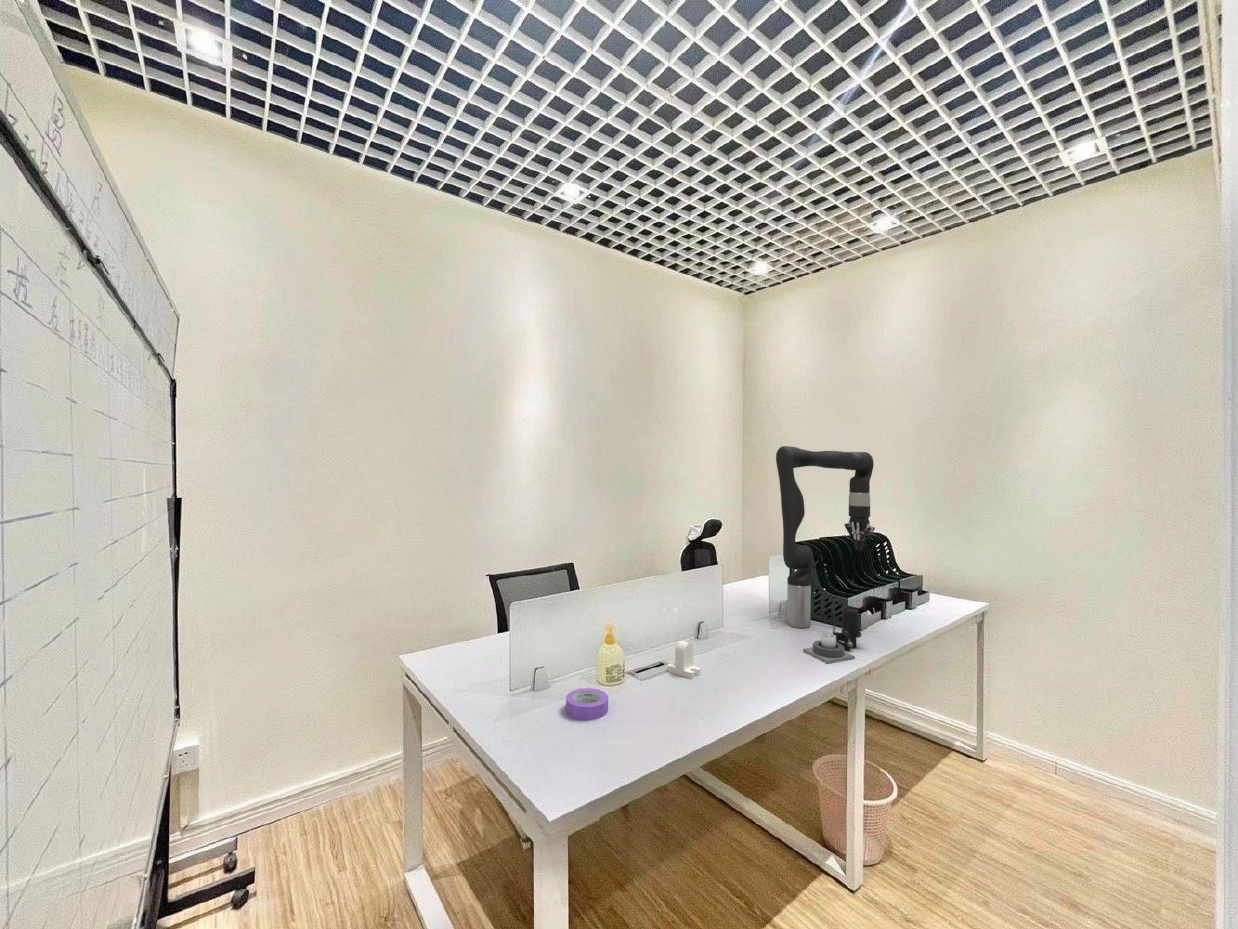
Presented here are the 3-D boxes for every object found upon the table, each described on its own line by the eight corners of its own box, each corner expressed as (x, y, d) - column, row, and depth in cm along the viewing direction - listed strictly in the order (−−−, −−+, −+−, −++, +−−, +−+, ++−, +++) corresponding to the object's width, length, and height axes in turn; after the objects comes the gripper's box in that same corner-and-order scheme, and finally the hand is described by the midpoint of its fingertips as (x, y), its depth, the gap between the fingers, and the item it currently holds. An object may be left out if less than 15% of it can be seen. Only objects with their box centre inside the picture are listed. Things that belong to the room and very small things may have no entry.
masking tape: (597, 697, 153) (597, 684, 152) (615, 715, 142) (615, 701, 142) (559, 706, 147) (559, 692, 147) (575, 725, 137) (575, 710, 137)
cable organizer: (691, 679, 165) (691, 648, 165) (666, 670, 171) (666, 640, 171) (701, 674, 169) (701, 643, 168) (676, 666, 175) (676, 636, 175)
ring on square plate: (803, 651, 188) (803, 641, 188) (829, 647, 193) (829, 637, 193) (827, 663, 177) (827, 653, 177) (854, 659, 182) (854, 649, 182)
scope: (830, 609, 194) (845, 604, 200) (830, 646, 194) (845, 640, 200) (851, 614, 187) (866, 609, 193) (851, 653, 187) (866, 647, 193)
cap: (818, 651, 186) (818, 633, 186) (827, 648, 188) (827, 631, 188) (829, 655, 182) (829, 637, 182) (838, 653, 184) (838, 635, 184)
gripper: (838, 503, 203) (838, 547, 204) (865, 506, 191) (865, 553, 191) (853, 502, 206) (853, 546, 206) (881, 505, 194) (880, 552, 194)
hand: (859, 549), depth 199 cm, fingers closed
